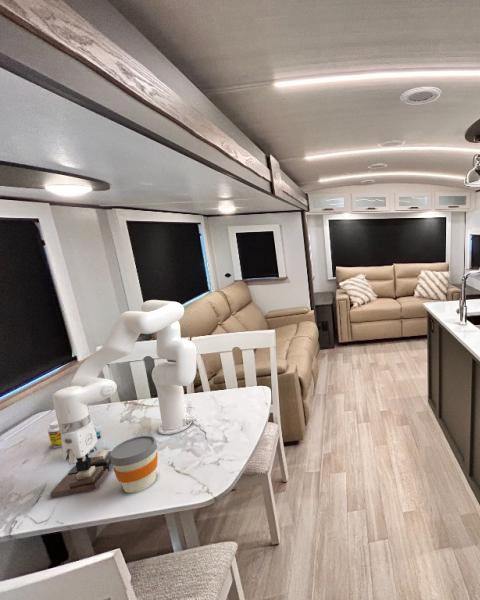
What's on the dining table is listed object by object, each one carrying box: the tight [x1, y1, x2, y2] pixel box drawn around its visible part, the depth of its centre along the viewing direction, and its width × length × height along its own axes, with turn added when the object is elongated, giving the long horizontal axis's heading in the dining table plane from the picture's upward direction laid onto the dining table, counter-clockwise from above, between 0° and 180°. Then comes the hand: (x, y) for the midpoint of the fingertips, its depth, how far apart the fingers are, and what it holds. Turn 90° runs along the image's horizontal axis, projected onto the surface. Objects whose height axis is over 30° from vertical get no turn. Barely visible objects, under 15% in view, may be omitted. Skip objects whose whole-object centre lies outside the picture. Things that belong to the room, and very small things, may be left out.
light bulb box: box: [89, 424, 106, 457], centre depth 127 cm, size 11×7×11 cm, turn 71°
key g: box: [76, 466, 96, 480], centre depth 111 cm, size 4×4×2 cm
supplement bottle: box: [47, 419, 62, 448], centre depth 131 cm, size 6×6×10 cm
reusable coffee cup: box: [110, 435, 158, 494], centre depth 111 cm, size 13×13×15 cm
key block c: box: [67, 450, 114, 476], centre depth 119 cm, size 12×8×4 cm, turn 109°
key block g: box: [50, 466, 109, 499], centre depth 111 cm, size 12×8×4 cm, turn 109°
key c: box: [91, 449, 109, 462], centre depth 119 cm, size 4×4×2 cm
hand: (84, 469), depth 110 cm, fingers closed
